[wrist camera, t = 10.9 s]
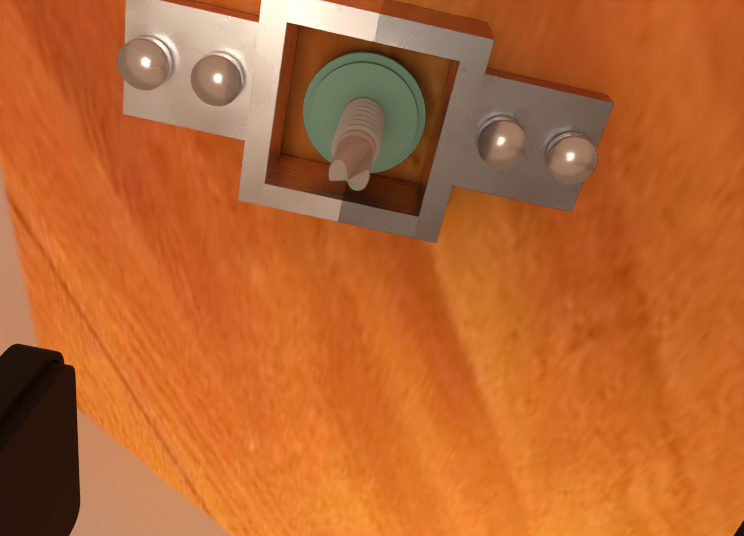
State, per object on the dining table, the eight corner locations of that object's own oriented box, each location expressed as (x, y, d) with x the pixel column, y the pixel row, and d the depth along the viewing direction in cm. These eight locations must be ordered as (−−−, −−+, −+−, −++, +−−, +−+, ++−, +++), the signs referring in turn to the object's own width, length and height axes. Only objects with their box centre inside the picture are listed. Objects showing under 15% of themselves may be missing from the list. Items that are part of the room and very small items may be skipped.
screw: (293, 63, 29) (405, 24, 28) (334, 168, 32) (439, 136, 30) (245, 131, 21) (397, 81, 20) (304, 265, 24) (445, 226, 23)
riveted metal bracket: (623, 53, 28) (647, 74, 25) (554, 234, 32) (567, 271, 29) (138, -58, 27) (102, -50, 24) (132, 142, 32) (101, 170, 29)
